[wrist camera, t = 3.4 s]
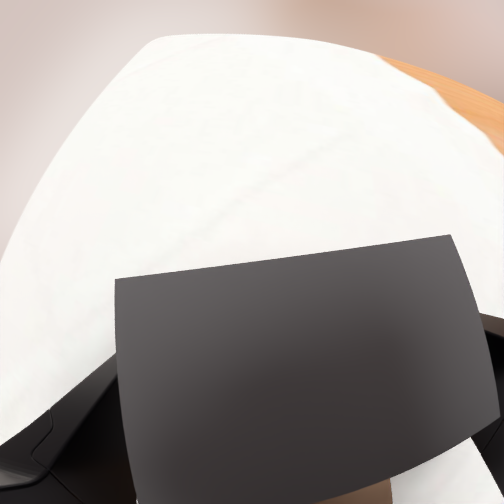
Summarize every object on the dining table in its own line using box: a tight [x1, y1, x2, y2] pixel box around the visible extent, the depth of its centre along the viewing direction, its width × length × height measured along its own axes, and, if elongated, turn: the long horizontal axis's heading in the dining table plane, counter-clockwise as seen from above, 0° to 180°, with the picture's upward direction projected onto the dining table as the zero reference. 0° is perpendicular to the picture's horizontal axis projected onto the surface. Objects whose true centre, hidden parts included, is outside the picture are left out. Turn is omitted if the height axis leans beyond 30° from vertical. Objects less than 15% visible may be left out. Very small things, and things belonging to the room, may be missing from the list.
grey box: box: [115, 235, 500, 504], centre depth 9 cm, size 4×6×11 cm, turn 99°
